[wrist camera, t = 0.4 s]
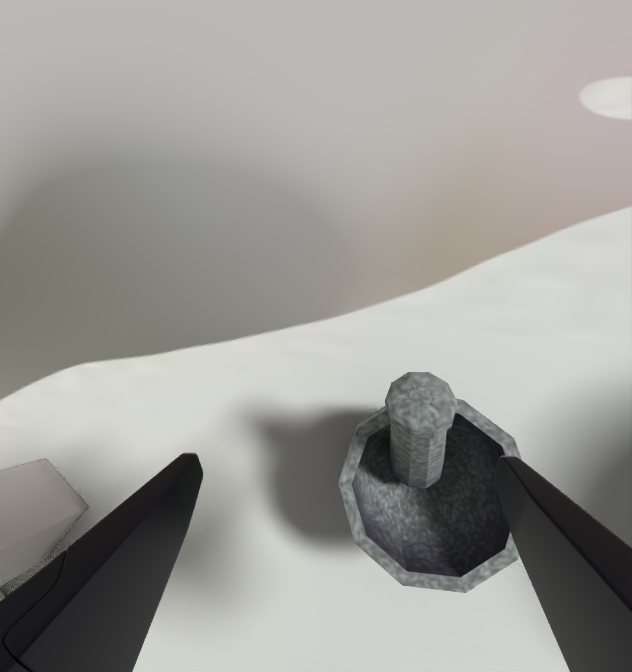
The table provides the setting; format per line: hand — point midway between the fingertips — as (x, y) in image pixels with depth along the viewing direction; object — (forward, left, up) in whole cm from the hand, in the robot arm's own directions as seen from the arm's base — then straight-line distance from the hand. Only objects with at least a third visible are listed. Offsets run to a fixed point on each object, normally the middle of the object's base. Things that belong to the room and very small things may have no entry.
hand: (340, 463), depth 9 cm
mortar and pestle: (-4, -3, -15) cm, 16 cm away
